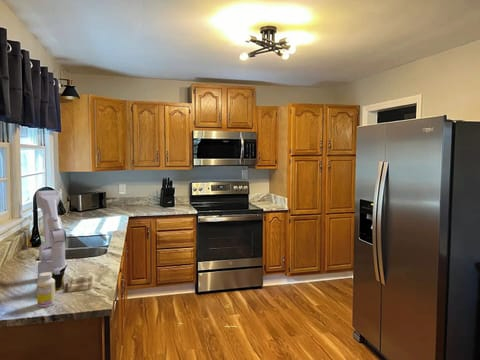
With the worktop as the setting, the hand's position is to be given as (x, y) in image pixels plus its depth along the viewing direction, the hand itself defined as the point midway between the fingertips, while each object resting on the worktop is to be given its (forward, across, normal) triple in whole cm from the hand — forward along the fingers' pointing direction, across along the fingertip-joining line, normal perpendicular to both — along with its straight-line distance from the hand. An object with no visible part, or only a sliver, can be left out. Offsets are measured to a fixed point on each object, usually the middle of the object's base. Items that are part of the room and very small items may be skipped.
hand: (59, 285), depth 164 cm
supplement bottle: (+2, -18, +3) cm, 18 cm away
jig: (+2, 0, -9) cm, 9 cm away
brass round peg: (+2, 0, 0) cm, 2 cm away
